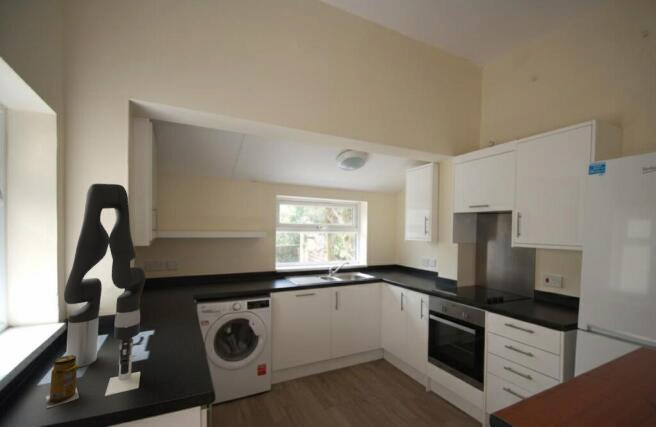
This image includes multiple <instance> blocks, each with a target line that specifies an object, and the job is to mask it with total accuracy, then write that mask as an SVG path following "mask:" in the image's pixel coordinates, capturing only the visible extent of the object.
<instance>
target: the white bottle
mask: <svg viewBox="0 0 656 427" xmlns="http://www.w3.org/2000/svg"><path fill="white" fill-rule="evenodd" d="M133 346H134V345H133ZM133 346H132V349H134V348H133ZM129 352H130V350H129ZM132 358H133V352H132V353H131V355H130V358H129V360H130V361H129V371H128V373H127V374H121V364H120V359H119V365H118V376H119V380H126V379H128V378H130V377H131V373H132V363H133V362H132V360H133V359H132ZM126 359H127V358H125V359H123V360H126Z"/></svg>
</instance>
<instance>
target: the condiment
mask: <svg viewBox="0 0 656 427" xmlns="http://www.w3.org/2000/svg"><path fill="white" fill-rule="evenodd" d="M77 371H78V368H77V364H76V356H74V355H69V356H66V355H63V356H61V357H58V358H56V359H55V360H54V361H53V369H52V370H51V372H50V373H51V374H50V388H49V389H50V390H49V394H48V395H46V396H45V402H46V404H45V406H46V409H48V408H52V407H56V406H59V405H62V404H65V403H68V402H71V401H75V400H77V399H79V398H80V396H79V392H78V388H77V378H78V377H77Z"/></svg>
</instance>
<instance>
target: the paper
mask: <svg viewBox="0 0 656 427" xmlns="http://www.w3.org/2000/svg"><path fill="white" fill-rule="evenodd" d="M140 377H141V371H137V372H131V377H130V378H128V379H126V380H119V375H118V376H114V377H110V378H109V381H108V384H107V388H106V390H105V393H104V394H105V395H104V397H109V396H111V395H116V394H119V393H124V392H127V391H132V390H136V389H139V388H140V387H139V386H140Z"/></svg>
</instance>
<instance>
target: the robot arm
mask: <svg viewBox="0 0 656 427" xmlns="http://www.w3.org/2000/svg"><path fill="white" fill-rule="evenodd" d="M84 201H85V202H84V208H83V209H84V211H83V218H82V224H81V229H80V232H79V236H78V239H77V243H76V248H75V253H74V260H73V264H72V268H71V270H70V272H69V276H68V277H67V278H68V279H67V281H66V285H65V288H64V294H63V299H64V303H66V304H67V305H77V304H82V303H85V304H84V305H83V306H82V307H80V308H78V309H77V310H74V311H72V312H70V314H69V315H68V319H67V337H66V355H65V356H69V355H74V356H76V364H77V369H78V368H82V367H85V366H88V365H91V364H93V363H94V362H96V361H97V358H98V356H97V355H98V338H99V337H98V335H99V316H100V315H99V314H100V310H101V299H102V298H101V297H102V289H103V284H102V281H101V280H100V278H98V277H93V278H91V277H89V278H85V276H86V275H87V273H89V271H91V270H92V269H93V268H94V267H95V266H96V265H97V264H99V263H100V262H101V261H102V260H103V259H104V258H105V257H106V255H107V252H108V248H109V250H110V255H111V258H112V261H111V262H112V264H111V281H112V283H113V285H114V286H115V287H116V288H117V289H120V290H124V291H123V292H122V293H121V294H119V295H118V297H117V298H116V303H115V305H116V306H115V317H114V327H113V337H114V339H115V340H120V341H119V344H118V348H119V356H118V357H119V360H120V364H121V374H127V373H128V371H129V361H130V360H129V358H130V355H131V353H132V354H133V348H132V346H134V338H135V337H136V336H138V335H139V334H140V327H141V326H140V325H141V311H140V310H141V309H140V308H141V307H140V305H141V304H140V303H141V295H142V293H143V290H144V286H145V283H146V273H145V270H144V269H143V268H142V267H139V266H131V262H132V261H133V260H135V259H136V257H137V256H136V251H135V245H134V242H133V239H132V231H131V225H130V224H131V223H130V221H131V220H130V208H129V196H128V192H127V189H126V188H125V187H124V186H123V185H121V184H117V183H116V184H115V183H92V184H90V185H89V186H88V188H87V191H86V194H85V200H84ZM103 209H104V210H105V209H114V213H115V221H114V224H113V227H112V230H111V232H110V234H108V232H107V230H106V228H105V227H104V225H103V223H102V221H101V216H102V212H103ZM129 350H130V352H129ZM125 358H127V359H126V360H123V359H125Z"/></svg>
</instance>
